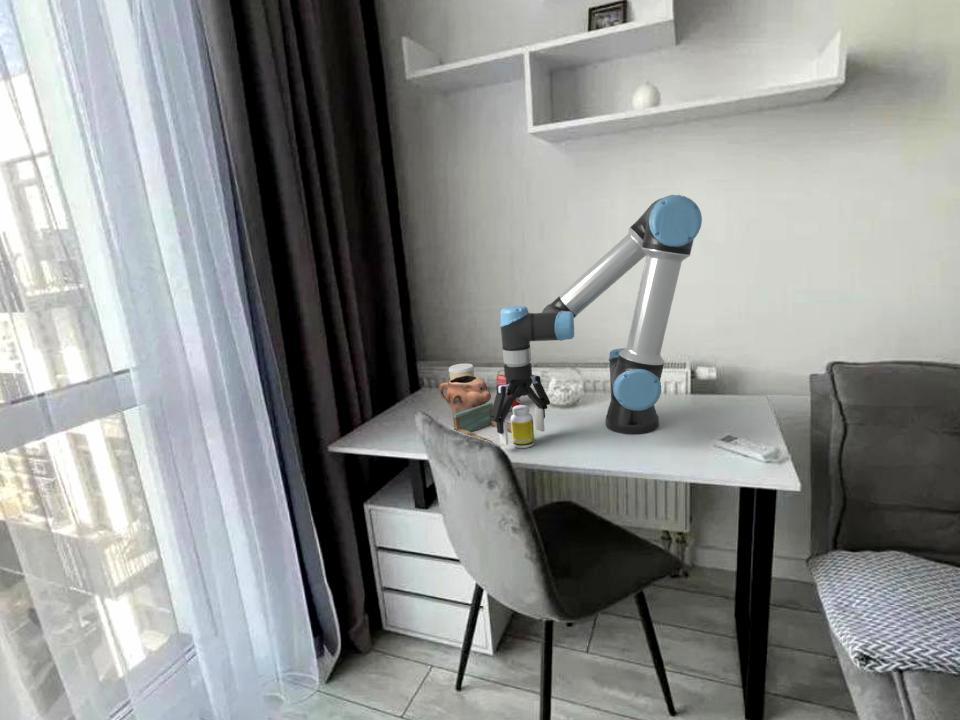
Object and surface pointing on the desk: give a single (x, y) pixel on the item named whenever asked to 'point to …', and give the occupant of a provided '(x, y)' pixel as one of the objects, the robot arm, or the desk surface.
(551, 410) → the desk surface
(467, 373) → the coffee cup
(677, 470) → the desk surface
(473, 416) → the green panel wooden stand
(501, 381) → the soda can
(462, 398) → the decorative planter
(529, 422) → the pill bottle
